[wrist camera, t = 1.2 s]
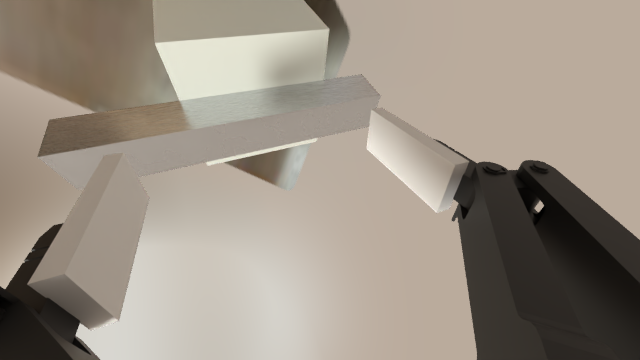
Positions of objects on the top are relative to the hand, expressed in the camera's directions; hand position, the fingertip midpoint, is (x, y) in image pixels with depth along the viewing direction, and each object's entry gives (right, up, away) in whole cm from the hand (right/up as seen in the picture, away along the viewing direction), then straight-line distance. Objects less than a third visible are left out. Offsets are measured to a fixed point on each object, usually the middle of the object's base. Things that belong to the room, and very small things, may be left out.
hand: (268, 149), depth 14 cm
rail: (-4, +4, +8) cm, 10 cm away
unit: (-14, +28, +24) cm, 39 cm away
